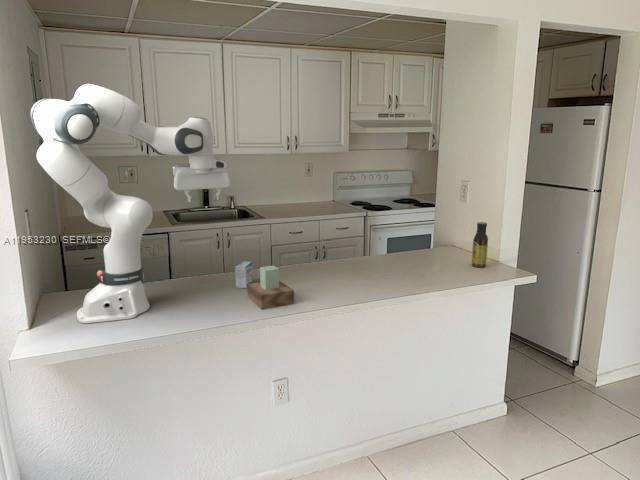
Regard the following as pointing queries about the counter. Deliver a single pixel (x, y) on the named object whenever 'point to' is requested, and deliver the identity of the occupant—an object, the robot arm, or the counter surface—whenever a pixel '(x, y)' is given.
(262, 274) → the sage block
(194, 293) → the counter surface
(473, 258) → the sauce bottle
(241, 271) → the medicine box
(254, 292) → the walnut block
